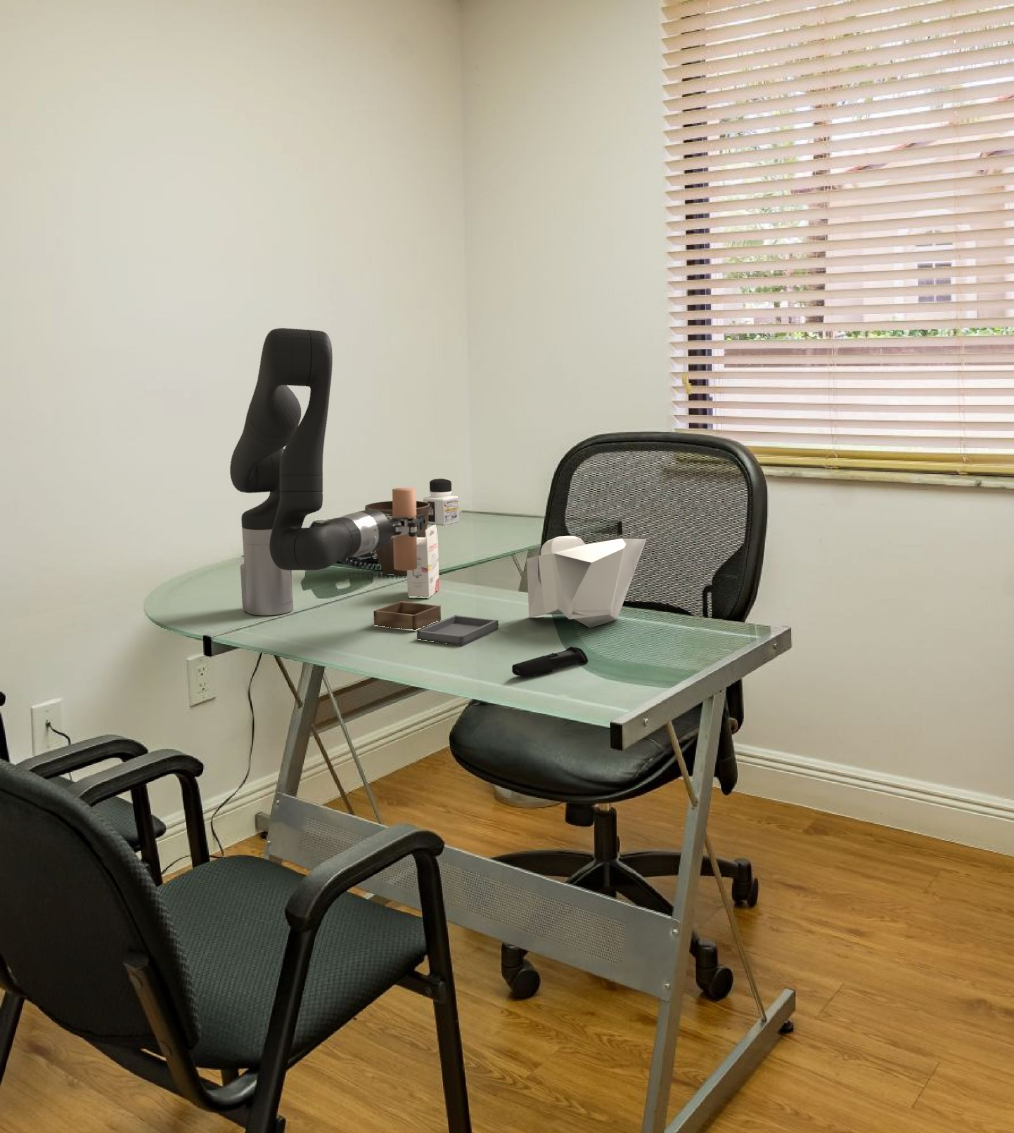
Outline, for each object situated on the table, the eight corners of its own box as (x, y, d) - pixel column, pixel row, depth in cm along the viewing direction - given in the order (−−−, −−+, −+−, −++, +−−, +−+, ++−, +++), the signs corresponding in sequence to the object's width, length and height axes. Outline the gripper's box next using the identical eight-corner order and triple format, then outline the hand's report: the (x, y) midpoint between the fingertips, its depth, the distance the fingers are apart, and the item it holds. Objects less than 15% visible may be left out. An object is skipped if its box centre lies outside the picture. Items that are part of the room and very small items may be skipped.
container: (444, 525, 334) (443, 481, 332) (423, 523, 339) (422, 479, 336) (459, 521, 341) (458, 478, 338) (438, 519, 345) (437, 477, 342)
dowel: (389, 569, 215) (387, 490, 212) (402, 564, 219) (400, 487, 216) (409, 571, 213) (407, 491, 210) (421, 567, 217) (420, 488, 214)
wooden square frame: (374, 626, 216) (373, 611, 216) (400, 616, 224) (400, 601, 224) (415, 631, 212) (414, 615, 211) (441, 620, 220) (440, 605, 219)
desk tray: (417, 640, 206) (416, 631, 205) (455, 623, 217) (454, 615, 217) (462, 646, 201) (461, 636, 201) (498, 629, 213) (498, 620, 213)
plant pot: (398, 582, 256) (396, 511, 253) (353, 574, 266) (351, 505, 262) (444, 571, 267) (443, 503, 264) (400, 564, 277) (398, 498, 274)
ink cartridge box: (417, 590, 248) (415, 523, 245) (439, 590, 247) (438, 523, 244) (406, 598, 239) (404, 529, 237) (429, 599, 238) (427, 529, 236)
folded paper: (516, 531, 217) (558, 553, 202) (625, 522, 227) (672, 542, 212) (514, 617, 222) (555, 644, 207) (620, 604, 232) (667, 629, 217)
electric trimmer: (506, 680, 183) (505, 661, 182) (573, 660, 193) (573, 642, 192) (522, 685, 180) (521, 665, 179) (589, 664, 190) (589, 646, 189)
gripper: (393, 515, 198) (444, 501, 213) (326, 509, 204) (380, 496, 219) (394, 557, 199) (445, 541, 214) (328, 550, 206) (381, 535, 221)
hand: (412, 518), depth 217 cm, fingers closed on dowel, 4 cm apart
